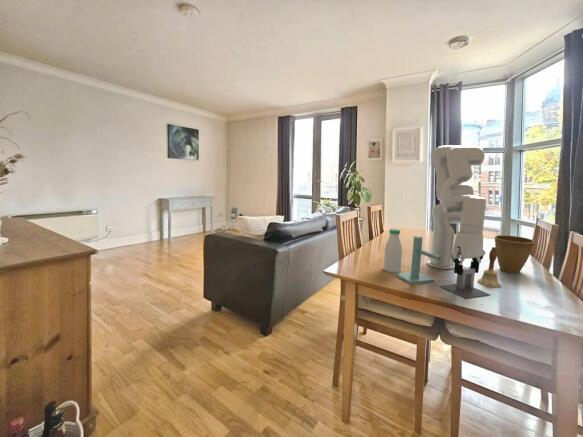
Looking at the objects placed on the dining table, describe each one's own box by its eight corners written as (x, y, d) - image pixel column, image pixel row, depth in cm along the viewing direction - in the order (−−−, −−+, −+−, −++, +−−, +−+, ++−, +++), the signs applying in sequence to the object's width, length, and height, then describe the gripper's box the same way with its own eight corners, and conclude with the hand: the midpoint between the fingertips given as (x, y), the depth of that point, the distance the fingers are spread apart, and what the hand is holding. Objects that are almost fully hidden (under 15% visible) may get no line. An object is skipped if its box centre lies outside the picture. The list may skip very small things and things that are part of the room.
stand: (417, 273, 128) (421, 233, 125) (447, 287, 112) (452, 242, 109) (395, 276, 125) (398, 235, 122) (423, 291, 109) (427, 244, 106)
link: (467, 287, 111) (469, 266, 110) (472, 290, 109) (475, 268, 108) (455, 289, 110) (457, 267, 108) (460, 291, 107) (463, 269, 106)
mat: (462, 283, 117) (462, 282, 117) (489, 295, 105) (490, 294, 105) (439, 286, 113) (440, 285, 113) (465, 298, 102) (465, 297, 102)
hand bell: (481, 278, 123) (485, 244, 120) (503, 284, 116) (508, 248, 114) (474, 283, 118) (478, 246, 115) (497, 289, 111) (502, 251, 109)
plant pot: (483, 265, 141) (487, 235, 138) (512, 265, 141) (516, 235, 139) (506, 276, 126) (511, 242, 124) (538, 276, 126) (543, 242, 124)
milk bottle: (401, 273, 128) (405, 231, 125) (384, 272, 129) (387, 230, 126) (398, 268, 135) (401, 228, 132) (382, 267, 137) (385, 227, 134)
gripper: (479, 226, 111) (474, 268, 114) (444, 228, 107) (440, 271, 109) (497, 229, 104) (491, 274, 107) (461, 231, 99) (456, 278, 102)
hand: (466, 272), depth 108 cm, fingers open, 7 cm apart
